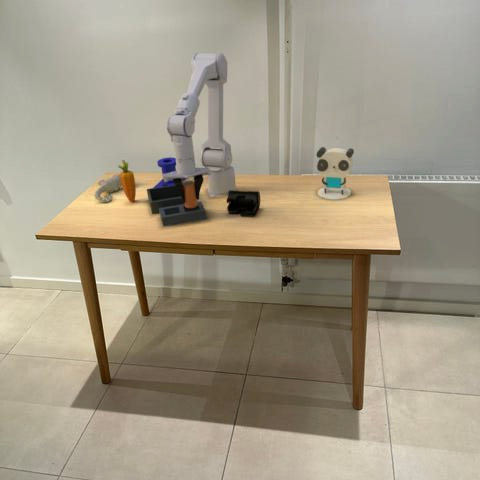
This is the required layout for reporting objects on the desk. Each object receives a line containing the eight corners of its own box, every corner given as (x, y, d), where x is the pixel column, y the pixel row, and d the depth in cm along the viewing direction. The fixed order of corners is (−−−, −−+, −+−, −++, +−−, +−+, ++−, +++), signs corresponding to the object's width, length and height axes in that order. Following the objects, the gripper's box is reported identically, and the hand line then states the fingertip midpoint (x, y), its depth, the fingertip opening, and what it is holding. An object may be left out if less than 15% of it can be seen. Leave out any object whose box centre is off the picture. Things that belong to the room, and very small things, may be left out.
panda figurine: (312, 197, 161) (313, 153, 152) (320, 185, 169) (322, 142, 160) (347, 201, 157) (350, 156, 148) (353, 188, 165) (357, 144, 156)
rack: (160, 217, 155) (158, 208, 153) (202, 211, 157) (201, 201, 155) (163, 227, 149) (161, 217, 147) (206, 220, 151) (205, 210, 149)
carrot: (136, 206, 164) (127, 163, 155) (123, 206, 165) (113, 163, 156) (141, 200, 168) (133, 158, 159) (128, 200, 169) (119, 158, 160)
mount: (169, 176, 186) (166, 153, 180) (187, 177, 184) (184, 154, 178) (153, 190, 174) (149, 167, 169) (172, 192, 172) (168, 168, 167)
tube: (196, 202, 153) (193, 179, 149) (198, 207, 150) (195, 184, 145) (184, 204, 152) (181, 181, 148) (186, 209, 149) (183, 186, 145)
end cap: (260, 207, 157) (260, 188, 152) (256, 217, 151) (255, 197, 147) (232, 206, 159) (230, 187, 155) (226, 215, 153) (224, 195, 149)
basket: (189, 195, 169) (187, 182, 166) (195, 208, 159) (193, 195, 157) (148, 201, 167) (146, 189, 164) (152, 215, 157) (150, 202, 154)
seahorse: (118, 201, 166) (139, 172, 179) (87, 190, 165) (110, 162, 179) (117, 212, 169) (138, 184, 183) (87, 202, 169) (109, 174, 182)
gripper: (162, 164, 137) (169, 208, 146) (211, 157, 140) (215, 200, 148) (159, 157, 143) (166, 199, 151) (206, 150, 145) (210, 192, 154)
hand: (190, 199), depth 150 cm, fingers closed on tube, 4 cm apart
